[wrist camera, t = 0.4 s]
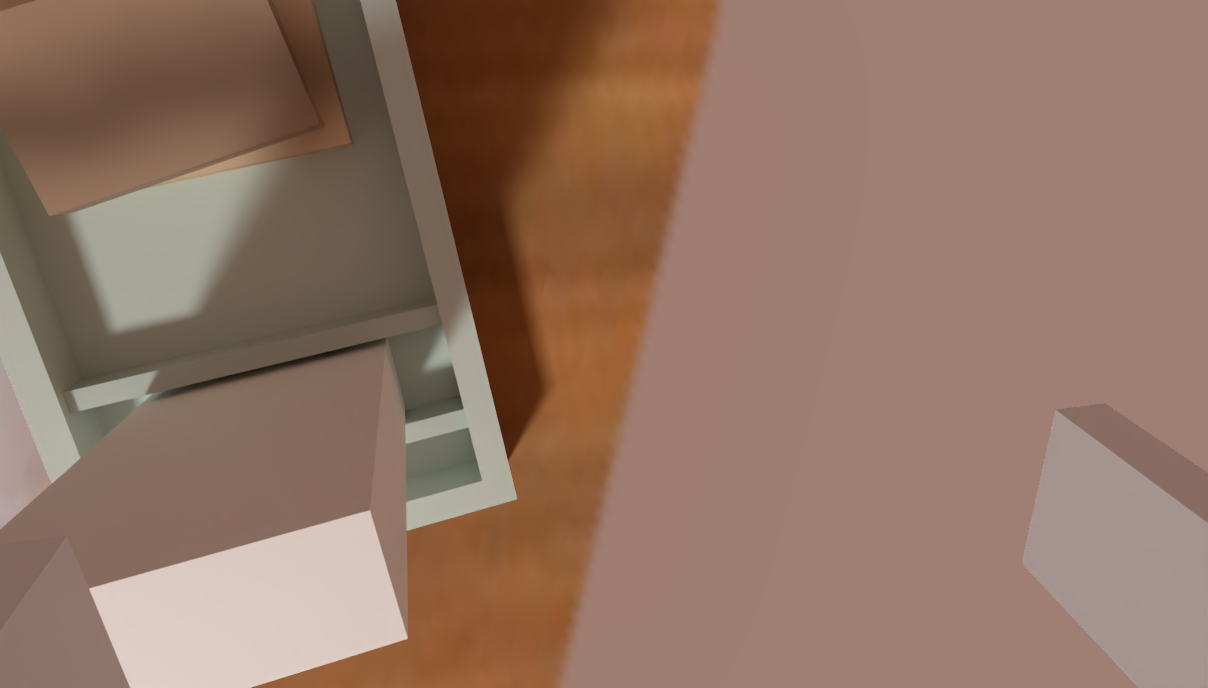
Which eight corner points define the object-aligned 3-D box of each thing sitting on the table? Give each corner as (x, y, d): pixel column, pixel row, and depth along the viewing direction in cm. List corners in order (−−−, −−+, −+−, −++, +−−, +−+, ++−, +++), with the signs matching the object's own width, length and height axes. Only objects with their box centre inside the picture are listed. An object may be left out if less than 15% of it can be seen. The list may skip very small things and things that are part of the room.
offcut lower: (5, 1, 28) (-25, -11, 26) (299, -47, 30) (292, -63, 28) (80, 202, 30) (58, 204, 28) (354, 144, 31) (350, 143, 30)
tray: (-94, -37, 28) (-172, -69, 24) (367, -100, 31) (362, -138, 27) (137, 567, 34) (105, 616, 30) (505, 465, 37) (517, 499, 33)
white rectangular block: (156, 390, 32) (-136, 650, 14) (386, 335, 33) (369, 510, 16) (180, 460, 32) (-69, 786, 15) (405, 403, 34) (407, 638, 17)
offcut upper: (-20, 37, 26) (-53, 26, 24) (252, -46, 28) (240, -62, 26) (73, 212, 28) (48, 215, 26) (325, 126, 29) (319, 123, 27)
